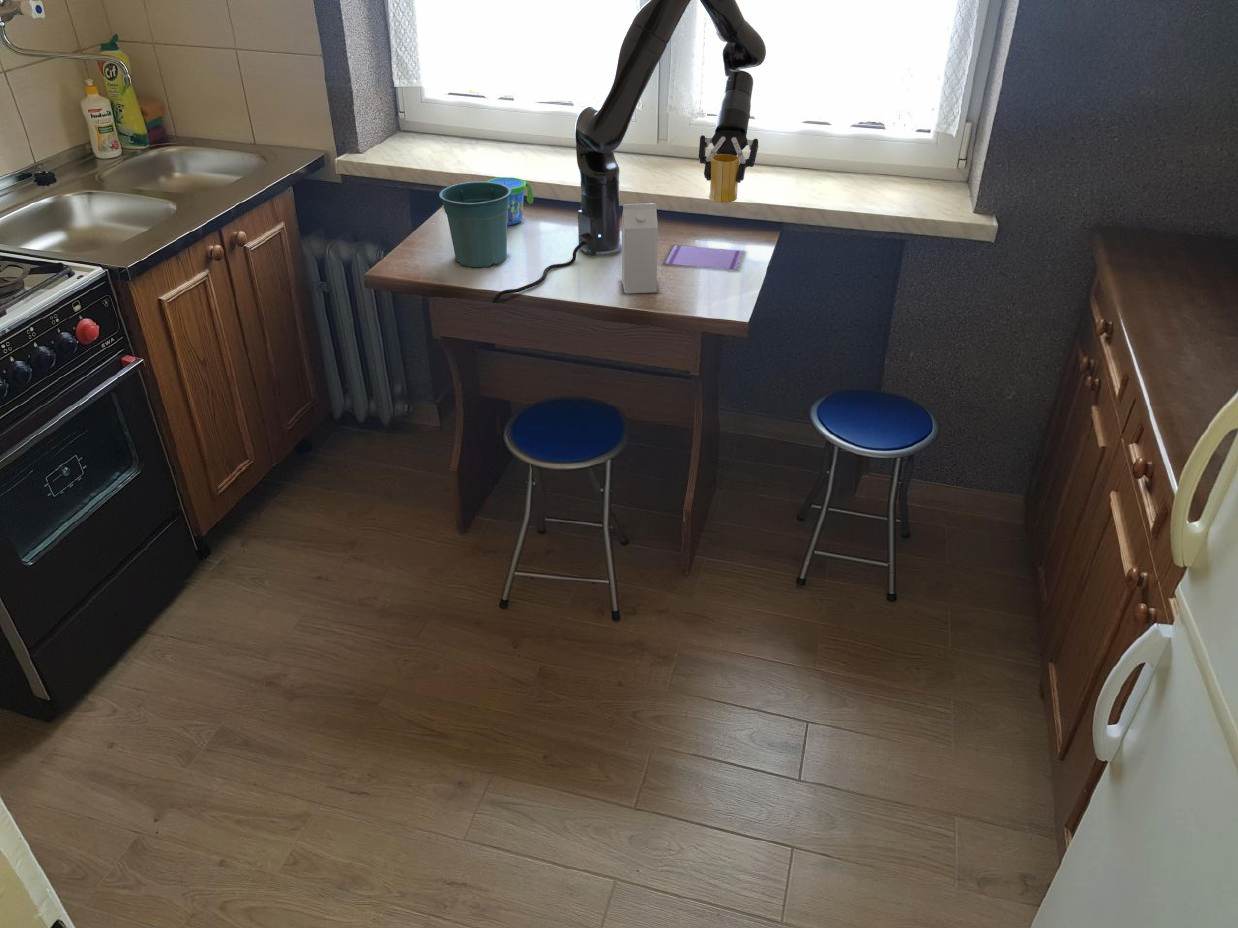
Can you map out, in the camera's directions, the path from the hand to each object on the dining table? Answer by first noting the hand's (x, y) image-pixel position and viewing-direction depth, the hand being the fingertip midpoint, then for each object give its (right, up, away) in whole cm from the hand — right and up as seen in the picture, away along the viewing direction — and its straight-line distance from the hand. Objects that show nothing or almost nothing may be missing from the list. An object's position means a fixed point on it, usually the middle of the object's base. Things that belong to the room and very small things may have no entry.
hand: (723, 180), depth 223 cm
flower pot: (-57, -17, +5) cm, 60 cm away
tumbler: (0, -3, +4) cm, 5 cm away
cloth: (-4, -17, +5) cm, 18 cm away
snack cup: (-53, -3, +26) cm, 60 cm away
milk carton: (-20, -27, -9) cm, 35 cm away
